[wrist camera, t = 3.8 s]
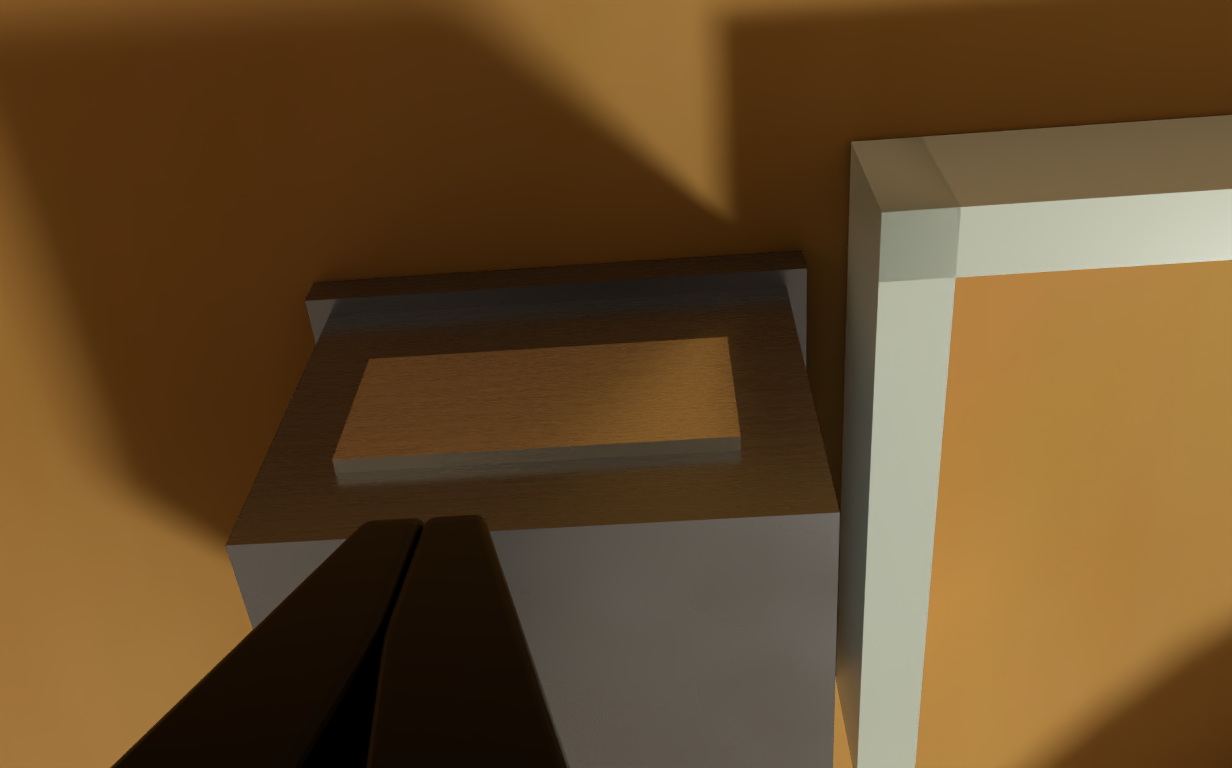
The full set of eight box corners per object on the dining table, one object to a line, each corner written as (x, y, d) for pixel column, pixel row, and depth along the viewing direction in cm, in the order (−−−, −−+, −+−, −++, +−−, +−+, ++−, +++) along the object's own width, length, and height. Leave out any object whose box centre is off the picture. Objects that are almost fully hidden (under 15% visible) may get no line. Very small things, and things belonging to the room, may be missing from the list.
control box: (409, 674, 23) (340, 986, 18) (313, 283, 18) (184, 543, 13) (800, 656, 23) (851, 969, 17) (801, 250, 18) (872, 506, 13)
